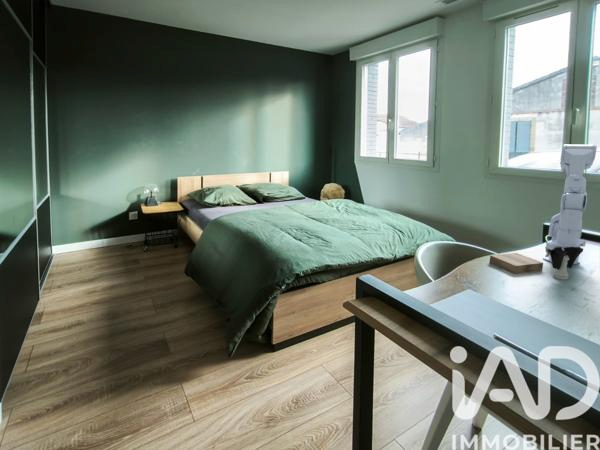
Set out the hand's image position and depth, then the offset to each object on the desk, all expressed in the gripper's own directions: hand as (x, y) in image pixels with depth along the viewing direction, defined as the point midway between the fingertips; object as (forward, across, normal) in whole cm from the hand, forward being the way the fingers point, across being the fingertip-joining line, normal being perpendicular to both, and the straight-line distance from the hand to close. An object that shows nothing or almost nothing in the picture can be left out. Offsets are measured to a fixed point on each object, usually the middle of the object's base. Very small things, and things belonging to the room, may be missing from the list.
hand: (561, 267), depth 124 cm
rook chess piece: (+4, 0, 0) cm, 4 cm away
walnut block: (+4, -6, +13) cm, 15 cm away
